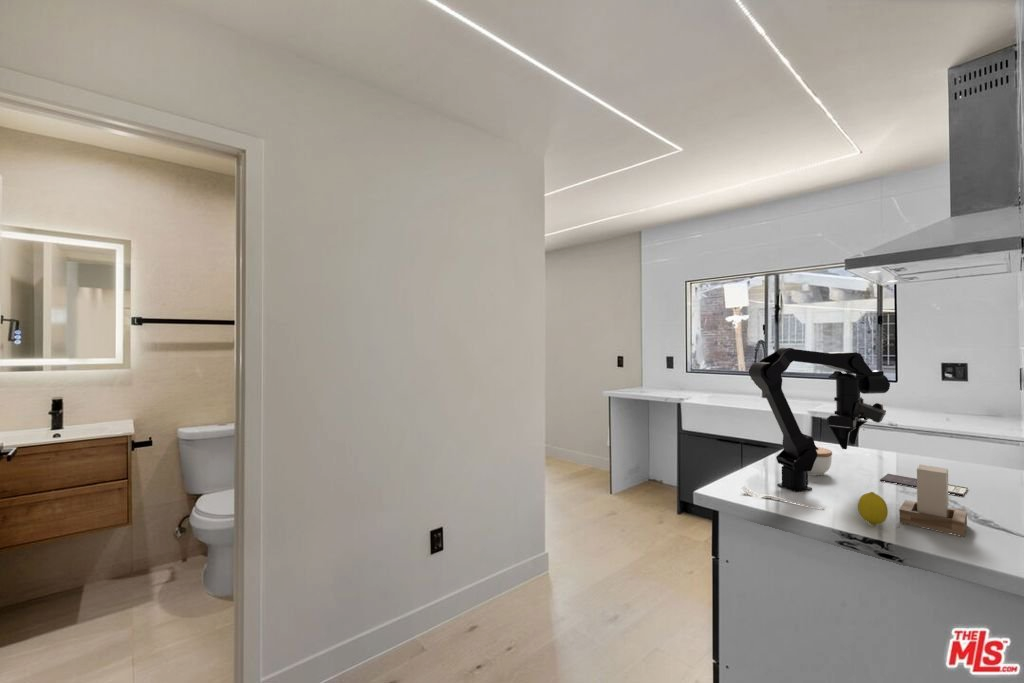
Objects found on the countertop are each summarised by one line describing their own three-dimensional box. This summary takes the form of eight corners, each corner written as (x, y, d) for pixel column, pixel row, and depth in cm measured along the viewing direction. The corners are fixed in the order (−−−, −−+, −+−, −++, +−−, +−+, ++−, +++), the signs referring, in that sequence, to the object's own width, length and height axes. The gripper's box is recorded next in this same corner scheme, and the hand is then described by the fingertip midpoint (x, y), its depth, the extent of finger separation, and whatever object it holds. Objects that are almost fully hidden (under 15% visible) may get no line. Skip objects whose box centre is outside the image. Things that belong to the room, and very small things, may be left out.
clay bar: (946, 525, 103) (946, 473, 103) (917, 518, 107) (916, 468, 107) (948, 518, 106) (948, 468, 106) (920, 513, 110) (919, 464, 110)
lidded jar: (785, 471, 150) (785, 443, 149) (806, 466, 154) (805, 439, 154) (819, 480, 140) (818, 450, 140) (839, 475, 144) (839, 446, 144)
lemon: (879, 532, 103) (878, 497, 103) (852, 523, 108) (852, 490, 108) (893, 527, 105) (892, 493, 105) (866, 519, 110) (866, 486, 110)
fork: (823, 515, 115) (823, 507, 115) (740, 494, 129) (740, 488, 129) (825, 511, 117) (826, 504, 117) (744, 491, 131) (744, 485, 131)
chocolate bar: (887, 473, 143) (967, 487, 129) (888, 476, 143) (967, 490, 129) (880, 479, 138) (962, 494, 124) (880, 482, 138) (962, 498, 124)
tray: (964, 537, 100) (964, 522, 100) (899, 522, 108) (899, 509, 108) (967, 525, 106) (966, 511, 106) (905, 512, 114) (905, 499, 114)
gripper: (874, 399, 121) (875, 457, 121) (889, 393, 133) (890, 445, 133) (826, 396, 129) (826, 450, 129) (844, 390, 141) (845, 439, 142)
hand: (848, 446), depth 133 cm, fingers open, 9 cm apart
